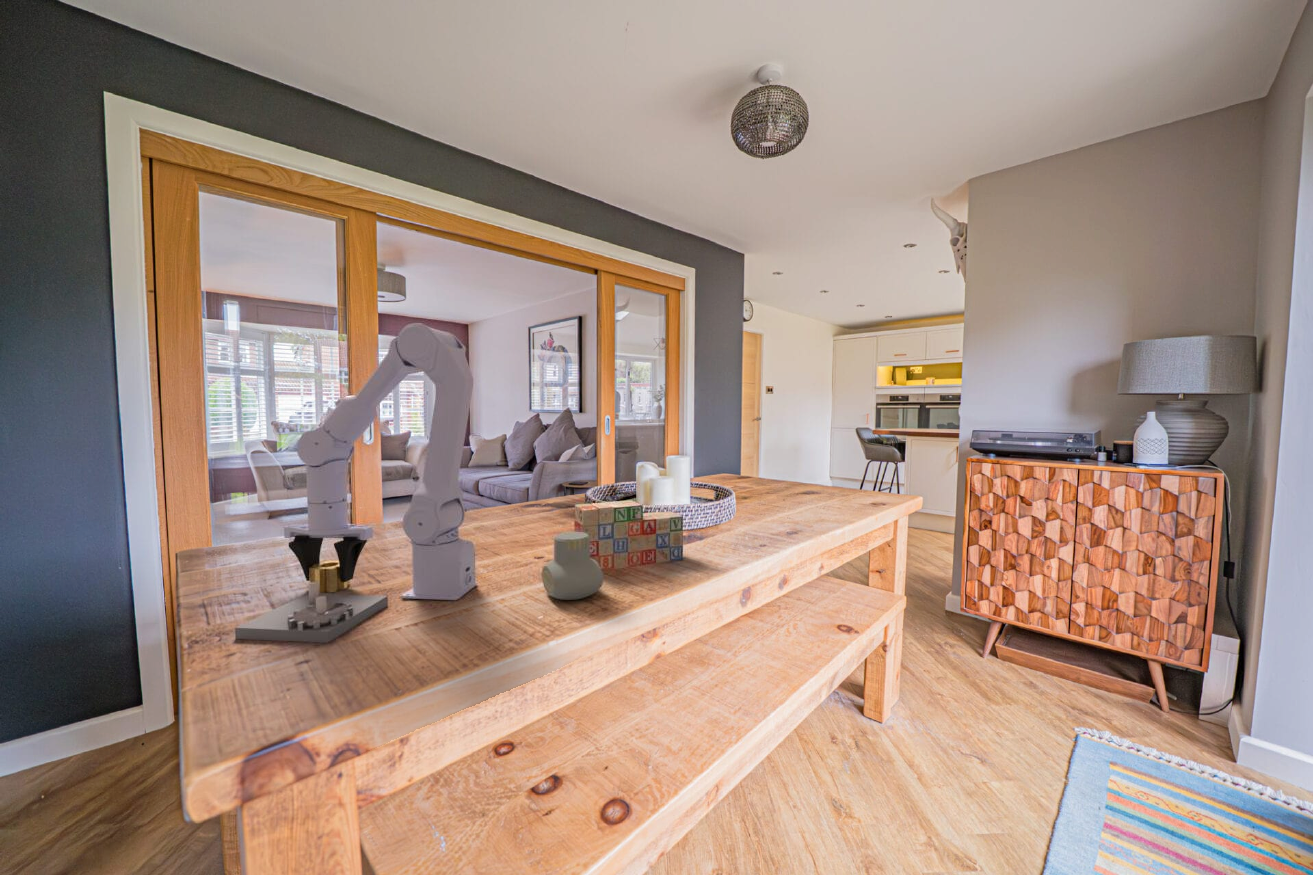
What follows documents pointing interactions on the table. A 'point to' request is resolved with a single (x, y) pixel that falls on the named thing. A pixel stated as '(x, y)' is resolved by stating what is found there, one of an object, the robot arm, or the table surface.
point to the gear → (320, 616)
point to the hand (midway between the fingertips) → (329, 579)
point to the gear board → (277, 621)
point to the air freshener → (572, 568)
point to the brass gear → (327, 576)
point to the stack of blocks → (629, 534)
